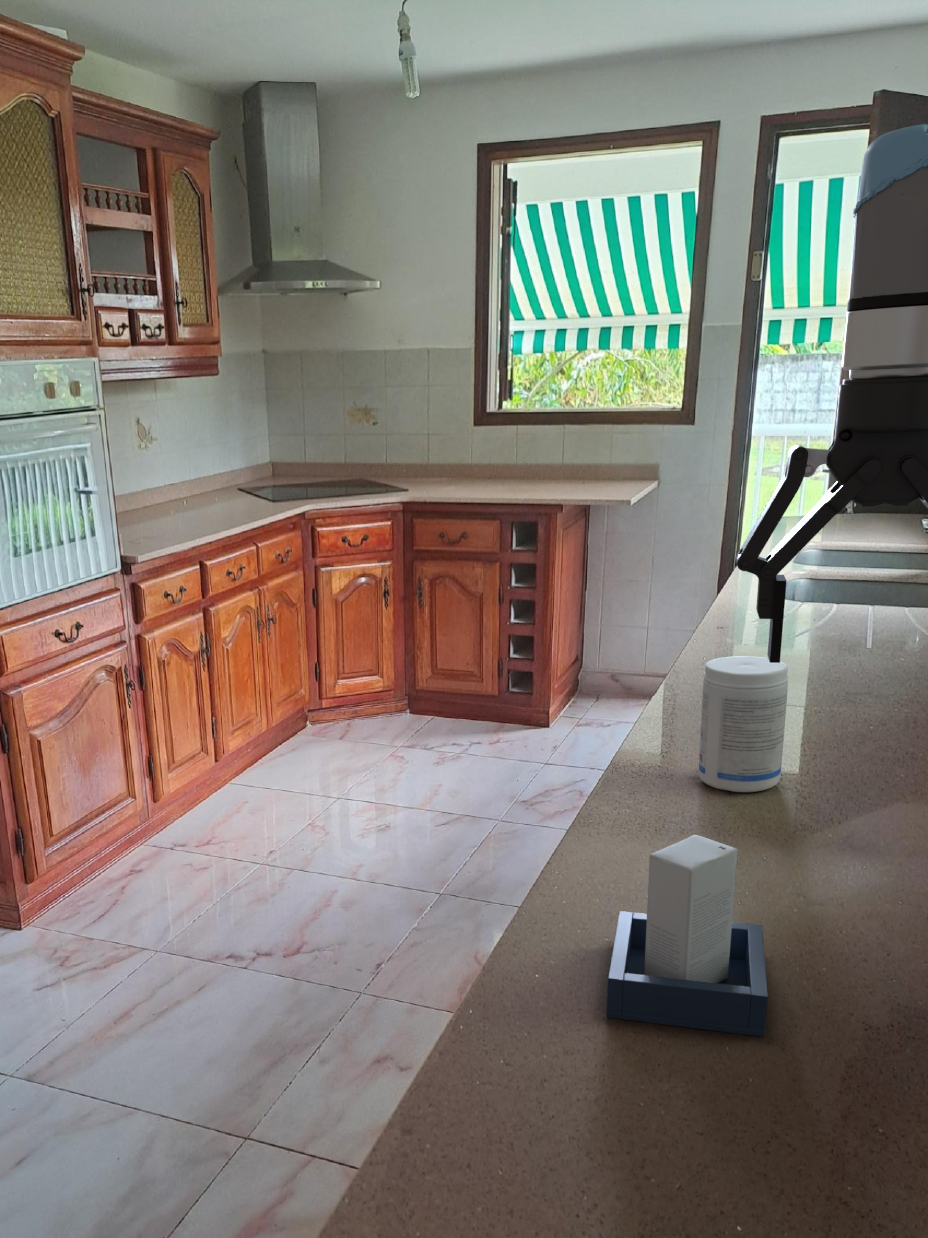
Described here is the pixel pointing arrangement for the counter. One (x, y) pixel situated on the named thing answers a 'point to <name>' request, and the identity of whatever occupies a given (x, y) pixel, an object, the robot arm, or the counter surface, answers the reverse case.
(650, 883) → the cosmetic box
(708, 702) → the supplement tub
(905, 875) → the counter surface
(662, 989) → the holder
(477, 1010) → the counter surface
